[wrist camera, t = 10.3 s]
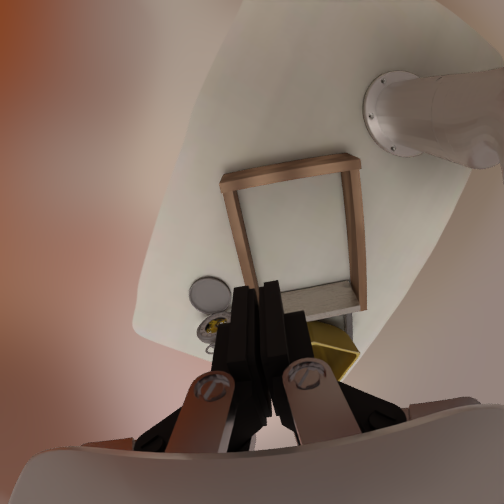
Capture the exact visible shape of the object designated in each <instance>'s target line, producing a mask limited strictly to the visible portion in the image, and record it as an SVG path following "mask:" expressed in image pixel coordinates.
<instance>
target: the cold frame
mask: <svg viewBox="0 0 504 504" xmlns="http://www.w3.org/2000/svg"><path fill="white" fill-rule="evenodd" d="M359 169H361V161H360V159H359V158H357V157H355V156H353V155H350V154H348V153H341V154H333V155H327V156H320V157H313V158H307V159H301V160H295V161H289V162H283V163H278V164H272V165H267V166H262V167H257V168H251V169H246V170H241V171H237V172H232V173H227V174H224V175H223V177H222V179H221V181H220V183H219V186H220V190H221V193H223V197H224V201H225V205H226V209H227V213H228V218H229V222H230V226H231V230H232V234H233V238H234V242H235V246H236V250H237V254H238V258H239V262H240V266H241V270H242V274H243V278H244V282H245V286H247V285H248V286H249V288H250V289H252V288H255V291H256V295H257V299H258V303H259V287H258V283H257V278H256V274H255V269H254V265H253V261H252V256H251V252H250V247H249V243H248V239H247V234H246V230H245V225H244V221H243V217H242V212H241V208H240V203H239V199H238V195H237V190H240V189H245V188H250V187H255V186H260V185H266V184H271V183H276V182H282V181H288V180H293V179H299V178H305V177H311V176H317V175H323V174H329V173H336V172H341V179H342V187H343V195H344V205H345V214H346V225H347V236H348V249H349V263H350V281H351V287H352V289H353V292H354V294H355V296H356V298H357V300H358V302H359V304H360V311H364V310H367V277H366V248H365V230H364V216H363V203H362V192H361V182H360V173H359Z"/></svg>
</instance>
